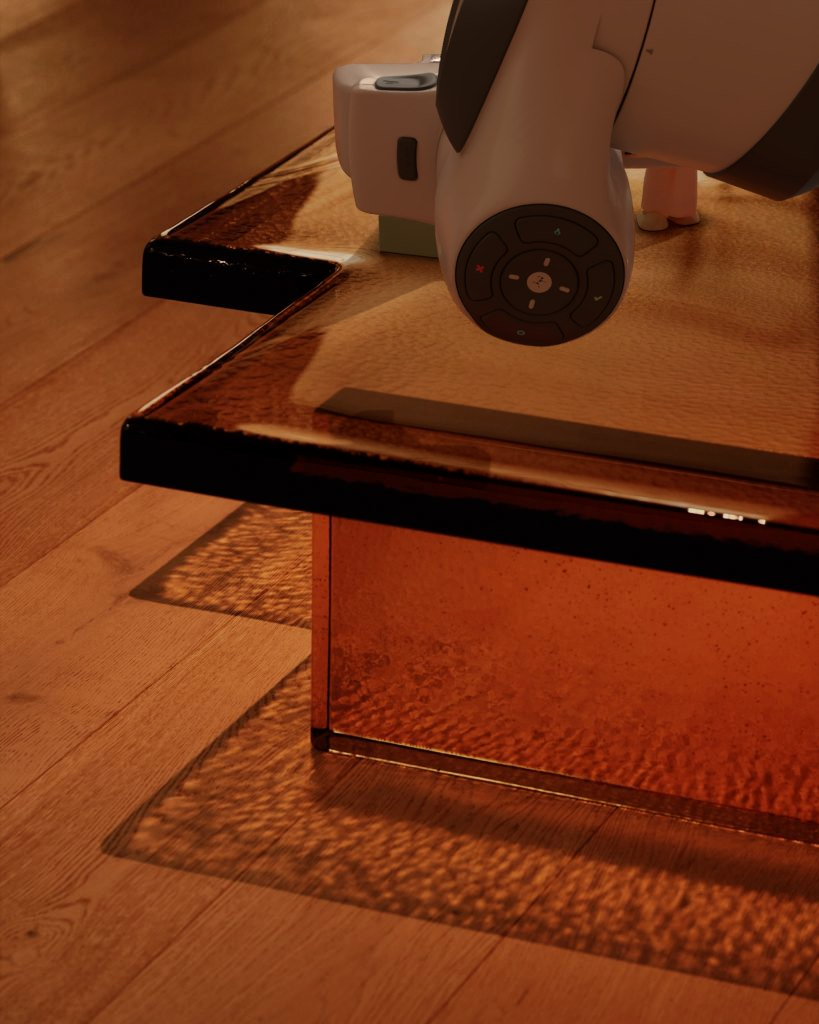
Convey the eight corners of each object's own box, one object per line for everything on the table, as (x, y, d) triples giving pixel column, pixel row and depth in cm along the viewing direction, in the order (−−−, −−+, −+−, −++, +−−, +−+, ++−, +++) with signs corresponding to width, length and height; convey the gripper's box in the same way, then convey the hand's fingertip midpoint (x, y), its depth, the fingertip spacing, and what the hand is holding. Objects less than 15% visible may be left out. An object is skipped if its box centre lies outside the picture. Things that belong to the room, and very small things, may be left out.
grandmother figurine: (648, 241, 106) (662, 48, 99) (611, 223, 109) (622, 34, 102) (734, 216, 109) (753, 28, 103) (696, 199, 112) (712, 16, 106)
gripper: (747, 84, 76) (710, 8, 88) (319, 88, 77) (338, 12, 89) (735, 210, 80) (701, 120, 91) (325, 212, 80) (343, 123, 92)
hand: (519, 67), depth 90 cm, fingers open, 8 cm apart
